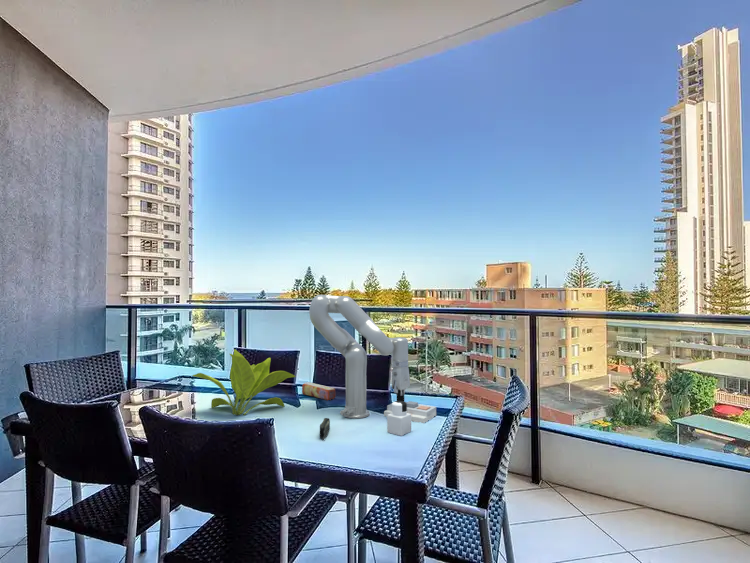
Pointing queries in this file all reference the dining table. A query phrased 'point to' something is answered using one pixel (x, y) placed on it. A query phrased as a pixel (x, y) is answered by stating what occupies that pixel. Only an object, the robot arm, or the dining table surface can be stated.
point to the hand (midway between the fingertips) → (400, 403)
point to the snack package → (318, 391)
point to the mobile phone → (324, 428)
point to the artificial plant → (248, 382)
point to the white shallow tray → (416, 413)
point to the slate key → (412, 404)
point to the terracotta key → (423, 408)
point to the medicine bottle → (399, 419)
